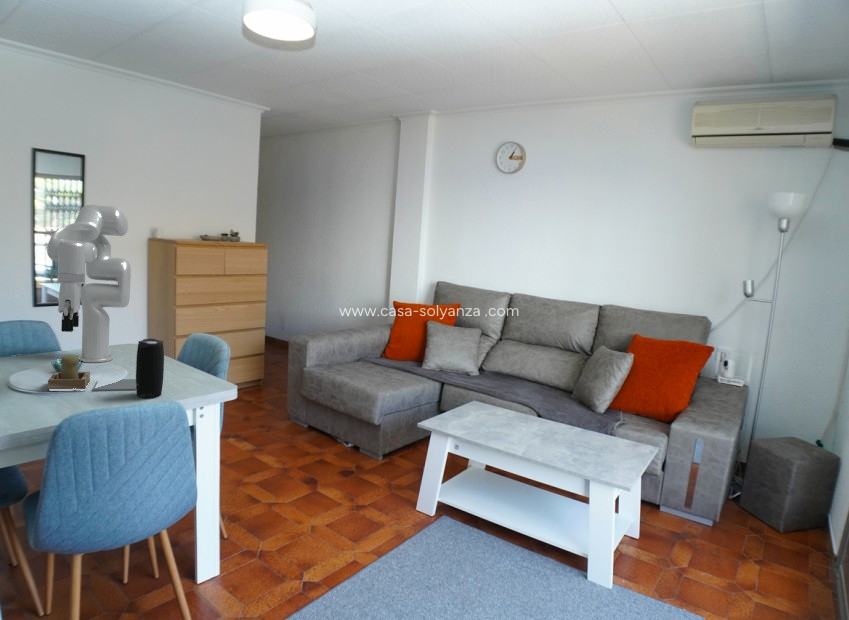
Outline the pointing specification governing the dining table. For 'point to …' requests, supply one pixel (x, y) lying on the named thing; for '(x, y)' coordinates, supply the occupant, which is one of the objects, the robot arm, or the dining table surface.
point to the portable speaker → (149, 368)
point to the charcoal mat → (119, 386)
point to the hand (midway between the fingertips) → (70, 329)
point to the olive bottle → (69, 367)
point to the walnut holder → (69, 381)
